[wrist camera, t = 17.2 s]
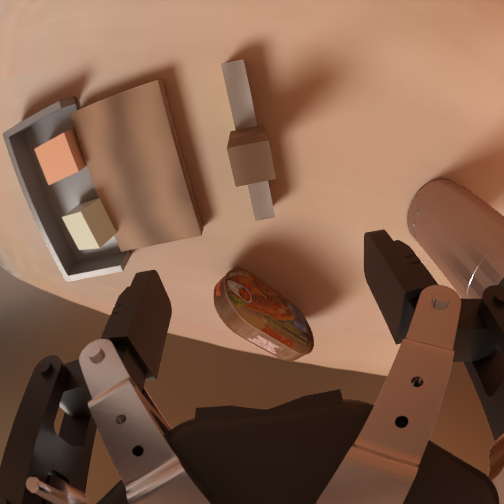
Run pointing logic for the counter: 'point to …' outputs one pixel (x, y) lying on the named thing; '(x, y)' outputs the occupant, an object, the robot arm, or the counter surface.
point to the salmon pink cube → (61, 156)
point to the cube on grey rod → (248, 142)
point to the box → (58, 194)
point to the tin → (262, 316)
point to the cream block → (89, 225)
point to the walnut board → (138, 167)
